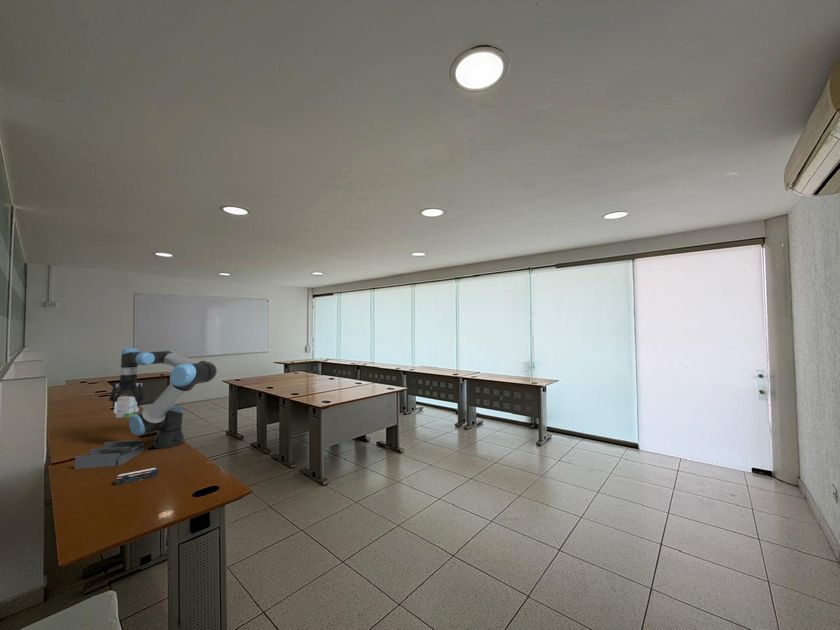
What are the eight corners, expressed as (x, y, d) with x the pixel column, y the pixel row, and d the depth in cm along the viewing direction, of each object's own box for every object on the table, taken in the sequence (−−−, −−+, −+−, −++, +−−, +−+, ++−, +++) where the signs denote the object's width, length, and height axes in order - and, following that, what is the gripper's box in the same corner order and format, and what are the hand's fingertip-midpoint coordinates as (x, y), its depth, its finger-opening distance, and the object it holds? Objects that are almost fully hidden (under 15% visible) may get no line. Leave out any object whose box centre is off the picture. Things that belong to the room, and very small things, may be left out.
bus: (165, 479, 155) (166, 470, 156) (91, 495, 139) (92, 485, 140) (164, 469, 166) (165, 461, 167) (95, 483, 150) (96, 474, 151)
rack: (144, 450, 191) (144, 439, 191) (120, 465, 169) (121, 453, 170) (104, 453, 186) (104, 442, 186) (74, 469, 164) (75, 456, 165)
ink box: (115, 417, 193) (116, 397, 194) (124, 415, 198) (125, 395, 199) (128, 418, 192) (129, 397, 193) (137, 415, 197) (138, 396, 198)
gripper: (153, 373, 203) (151, 409, 202) (110, 373, 197) (107, 411, 196) (147, 374, 196) (145, 412, 195) (102, 375, 190) (99, 414, 189)
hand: (126, 412), depth 195 cm, fingers closed on ink box, 9 cm apart
